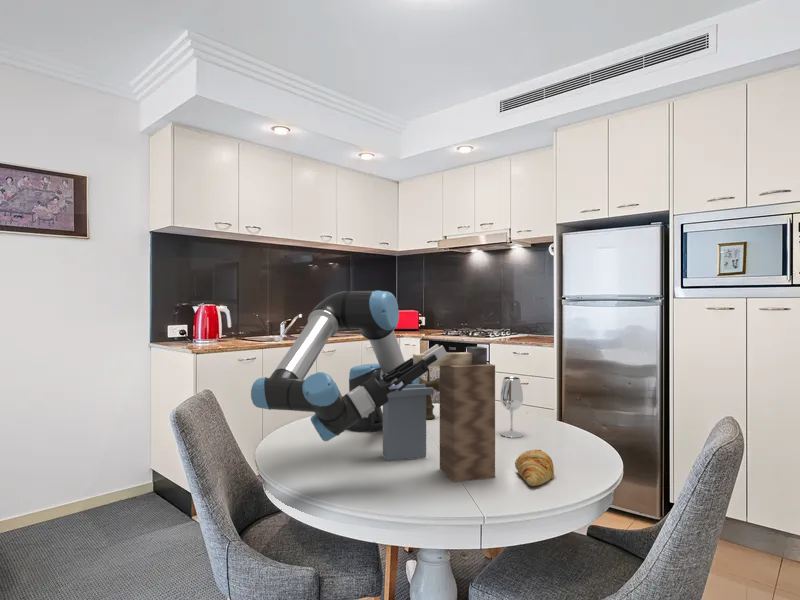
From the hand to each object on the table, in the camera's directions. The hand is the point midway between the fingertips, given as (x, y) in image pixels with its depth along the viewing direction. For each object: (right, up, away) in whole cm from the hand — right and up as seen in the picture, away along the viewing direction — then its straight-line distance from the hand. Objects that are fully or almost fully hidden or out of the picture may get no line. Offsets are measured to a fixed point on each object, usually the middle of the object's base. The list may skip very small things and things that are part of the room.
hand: (441, 349), depth 134 cm
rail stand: (-10, -34, +17) cm, 39 cm away
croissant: (+25, -35, +1) cm, 43 cm away
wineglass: (+28, -34, +40) cm, 60 cm away
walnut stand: (+7, -34, +2) cm, 35 cm away
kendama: (0, -34, +64) cm, 73 cm away
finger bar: (+2, -4, +1) cm, 5 cm away
